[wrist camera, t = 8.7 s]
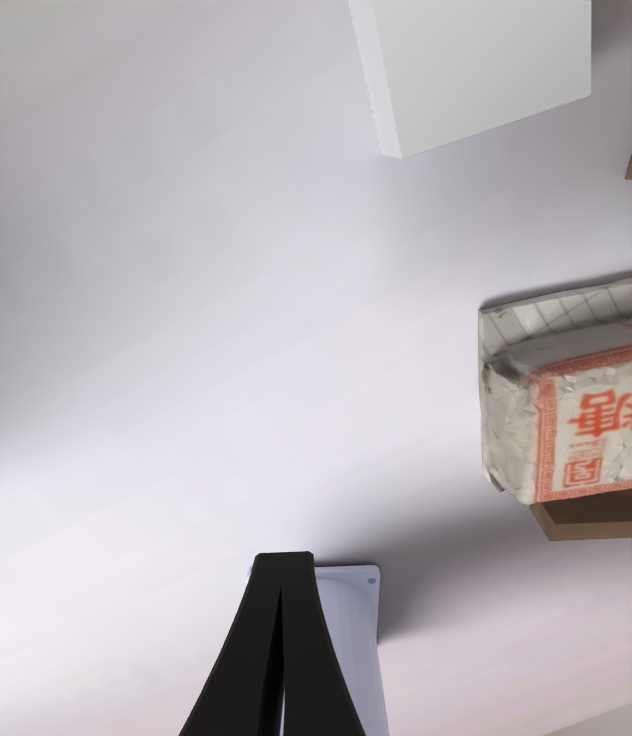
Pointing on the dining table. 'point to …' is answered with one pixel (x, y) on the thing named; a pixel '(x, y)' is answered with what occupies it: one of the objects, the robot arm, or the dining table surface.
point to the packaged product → (558, 393)
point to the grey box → (467, 65)
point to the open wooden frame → (587, 509)
